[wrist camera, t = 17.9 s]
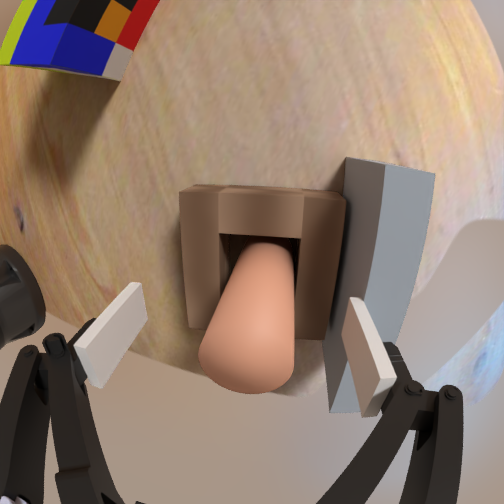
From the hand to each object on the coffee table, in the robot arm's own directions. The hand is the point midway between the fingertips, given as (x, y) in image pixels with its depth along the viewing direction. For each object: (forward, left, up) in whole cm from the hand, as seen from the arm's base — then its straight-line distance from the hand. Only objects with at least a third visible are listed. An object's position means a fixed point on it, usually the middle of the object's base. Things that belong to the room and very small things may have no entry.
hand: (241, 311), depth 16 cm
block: (0, 0, -10) cm, 10 cm away
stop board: (+8, 0, -10) cm, 13 cm away
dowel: (+1, 0, -10) cm, 10 cm away
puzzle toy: (-17, +23, -10) cm, 30 cm away
